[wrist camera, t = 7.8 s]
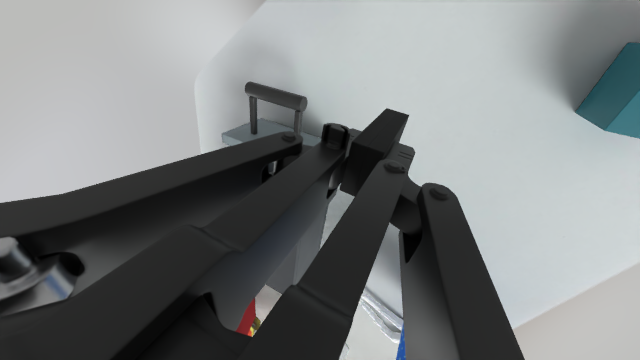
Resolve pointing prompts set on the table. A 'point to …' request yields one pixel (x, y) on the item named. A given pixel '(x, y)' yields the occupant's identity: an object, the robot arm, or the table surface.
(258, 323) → the figurine
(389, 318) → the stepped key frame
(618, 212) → the table surface
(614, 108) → the teal wooden cube
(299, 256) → the drawer cabinet
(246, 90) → the sliding drawer
